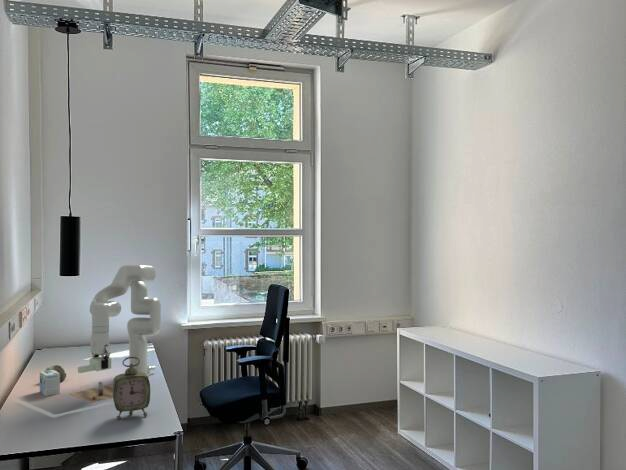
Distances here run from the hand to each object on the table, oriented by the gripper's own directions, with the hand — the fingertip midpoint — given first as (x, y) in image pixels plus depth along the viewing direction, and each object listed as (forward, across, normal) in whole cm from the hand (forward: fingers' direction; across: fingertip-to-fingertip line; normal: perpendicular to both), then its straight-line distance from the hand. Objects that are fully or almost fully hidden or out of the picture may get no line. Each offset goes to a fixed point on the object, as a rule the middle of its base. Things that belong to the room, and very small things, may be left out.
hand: (100, 367), depth 265 cm
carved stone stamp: (+15, -48, 0) cm, 50 cm away
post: (+13, 0, 0) cm, 13 cm away
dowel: (+13, +4, -5) cm, 15 cm away
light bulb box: (+15, -24, -13) cm, 31 cm away
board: (+14, -3, +2) cm, 15 cm away
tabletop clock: (+15, +36, -6) cm, 39 cm away
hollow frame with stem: (+1, 0, -3) cm, 4 cm away
